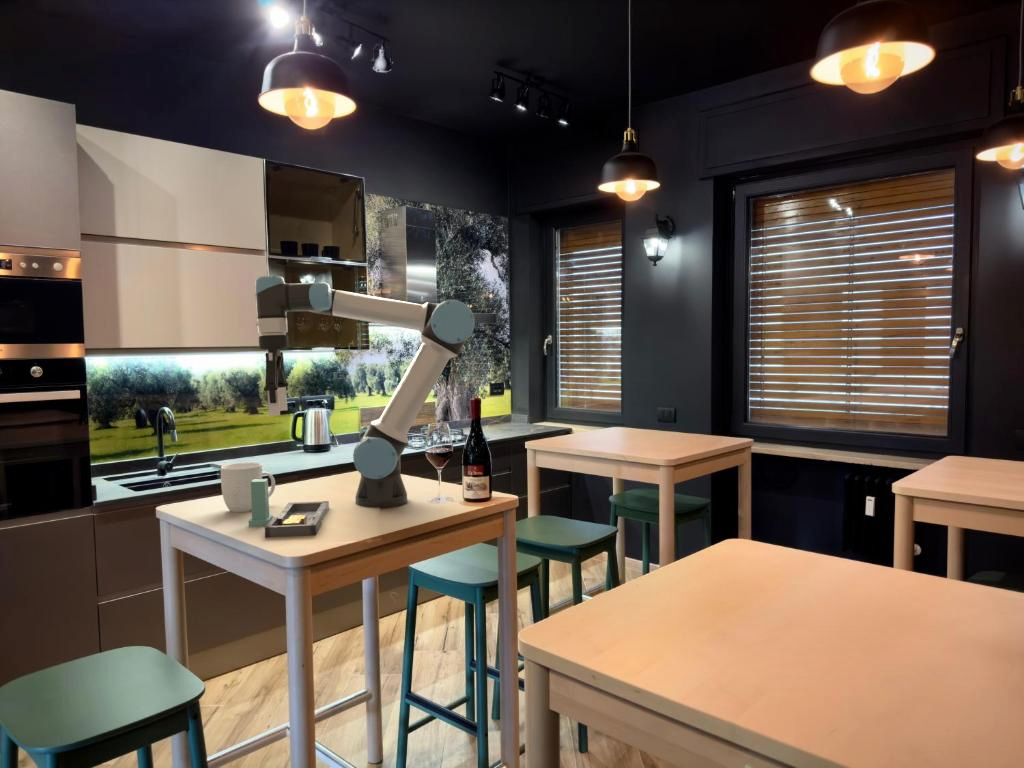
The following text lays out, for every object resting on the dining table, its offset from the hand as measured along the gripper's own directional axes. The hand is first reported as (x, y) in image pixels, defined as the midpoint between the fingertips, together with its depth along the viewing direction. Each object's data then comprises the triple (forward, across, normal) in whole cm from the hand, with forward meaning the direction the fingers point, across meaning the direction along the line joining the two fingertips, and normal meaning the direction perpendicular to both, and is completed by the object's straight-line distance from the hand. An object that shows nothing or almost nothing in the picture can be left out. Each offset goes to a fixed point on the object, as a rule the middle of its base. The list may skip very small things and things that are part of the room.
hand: (278, 413), depth 187 cm
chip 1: (+28, +16, +4) cm, 33 cm away
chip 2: (+28, +12, +5) cm, 31 cm away
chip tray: (+29, +16, +4) cm, 34 cm away
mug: (+29, -12, -12) cm, 33 cm away
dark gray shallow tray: (+29, +2, +5) cm, 30 cm away
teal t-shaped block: (+29, +7, -5) cm, 30 cm away
